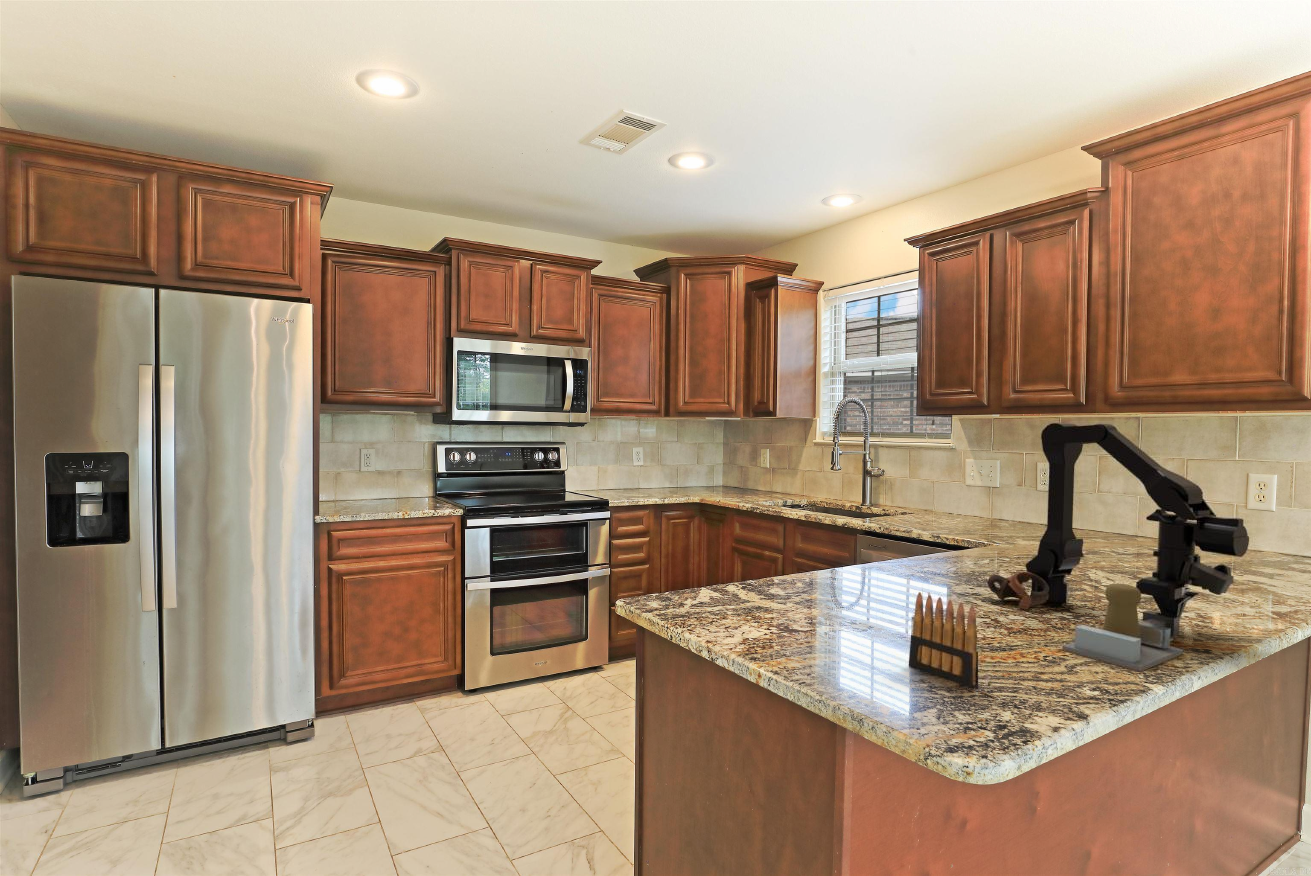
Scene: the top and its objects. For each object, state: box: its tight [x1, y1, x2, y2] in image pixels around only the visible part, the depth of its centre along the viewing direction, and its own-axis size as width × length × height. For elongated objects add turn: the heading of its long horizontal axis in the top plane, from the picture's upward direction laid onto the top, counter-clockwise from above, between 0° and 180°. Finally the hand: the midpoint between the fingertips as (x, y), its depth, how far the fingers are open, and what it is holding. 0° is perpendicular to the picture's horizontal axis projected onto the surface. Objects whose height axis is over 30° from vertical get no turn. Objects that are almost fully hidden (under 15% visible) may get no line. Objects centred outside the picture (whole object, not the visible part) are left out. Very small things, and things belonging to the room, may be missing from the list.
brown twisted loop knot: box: [986, 570, 1049, 610], centre depth 153 cm, size 12×10×8 cm
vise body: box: [1061, 624, 1184, 673], centre depth 124 cm, size 25×12×4 cm, turn 124°
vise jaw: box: [1138, 609, 1181, 649], centre depth 128 cm, size 12×9×3 cm
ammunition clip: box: [908, 591, 979, 689], centre depth 107 cm, size 11×2×12 cm, turn 35°
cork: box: [1102, 582, 1142, 652], centre depth 121 cm, size 6×6×11 cm
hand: (1172, 628), depth 134 cm, fingers closed
